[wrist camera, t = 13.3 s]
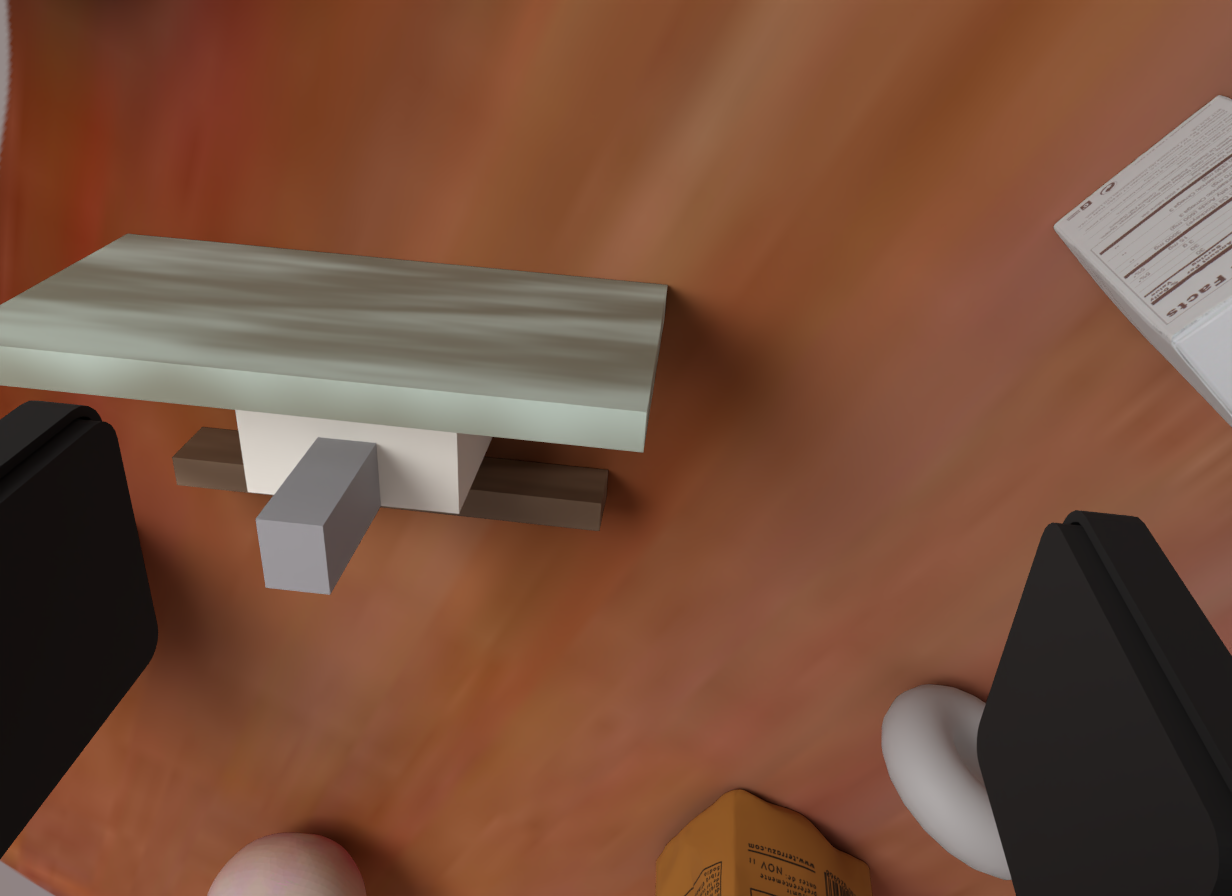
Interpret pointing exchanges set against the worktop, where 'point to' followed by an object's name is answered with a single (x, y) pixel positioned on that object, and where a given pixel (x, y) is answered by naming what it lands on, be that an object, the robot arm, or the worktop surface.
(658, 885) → the coffee package
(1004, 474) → the worktop surface
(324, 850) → the decorative fruit
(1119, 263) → the supplement box
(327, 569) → the white block gray post
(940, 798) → the donut
